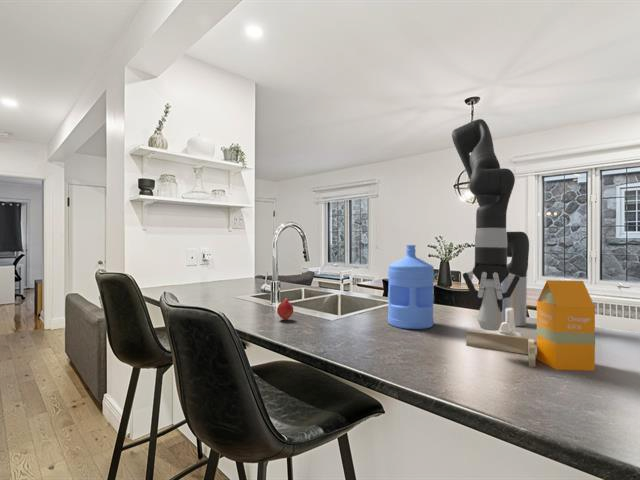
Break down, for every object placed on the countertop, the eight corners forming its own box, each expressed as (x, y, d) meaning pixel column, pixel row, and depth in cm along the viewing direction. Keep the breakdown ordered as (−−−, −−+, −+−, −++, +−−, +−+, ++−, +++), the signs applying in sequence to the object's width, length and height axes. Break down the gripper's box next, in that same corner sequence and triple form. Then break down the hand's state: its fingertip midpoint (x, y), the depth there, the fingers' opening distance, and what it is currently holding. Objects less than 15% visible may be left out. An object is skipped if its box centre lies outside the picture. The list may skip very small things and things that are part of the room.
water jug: (386, 319, 132) (387, 244, 133) (429, 320, 130) (430, 245, 130) (388, 328, 117) (389, 244, 117) (437, 331, 115) (438, 245, 115)
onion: (275, 321, 126) (275, 299, 126) (279, 318, 131) (280, 296, 131) (291, 322, 125) (291, 299, 125) (294, 319, 130) (295, 297, 130)
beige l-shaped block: (466, 344, 100) (466, 330, 100) (533, 353, 92) (533, 338, 92) (460, 355, 89) (461, 339, 89) (535, 367, 81) (535, 349, 81)
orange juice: (536, 358, 88) (536, 278, 88) (572, 359, 87) (572, 279, 88) (556, 369, 80) (556, 282, 80) (595, 370, 80) (596, 282, 80)
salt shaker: (473, 328, 90) (474, 278, 91) (482, 325, 94) (482, 276, 95) (497, 332, 86) (498, 280, 86) (505, 329, 90) (506, 278, 90)
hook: (501, 326, 99) (492, 309, 105) (501, 353, 106) (492, 335, 111) (529, 322, 98) (518, 304, 104) (527, 350, 104) (517, 332, 110)
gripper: (459, 245, 91) (458, 312, 91) (522, 246, 84) (521, 318, 84) (463, 245, 97) (463, 307, 97) (522, 246, 90) (521, 313, 90)
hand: (490, 312), depth 90 cm, fingers closed on salt shaker, 3 cm apart
